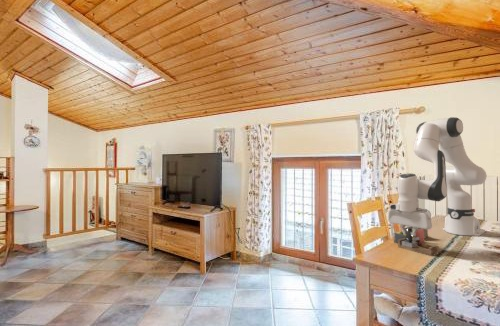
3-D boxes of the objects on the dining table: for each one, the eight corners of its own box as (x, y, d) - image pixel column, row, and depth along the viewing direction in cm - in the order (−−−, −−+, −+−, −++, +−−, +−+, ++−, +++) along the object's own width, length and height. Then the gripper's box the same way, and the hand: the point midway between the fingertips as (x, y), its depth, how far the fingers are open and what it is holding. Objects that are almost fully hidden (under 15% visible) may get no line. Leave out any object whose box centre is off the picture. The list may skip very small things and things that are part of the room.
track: (404, 245, 142) (404, 238, 142) (437, 253, 128) (437, 246, 128) (398, 247, 139) (397, 239, 139) (431, 255, 125) (431, 247, 125)
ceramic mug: (420, 240, 150) (420, 226, 150) (406, 236, 157) (405, 223, 157) (432, 237, 154) (432, 224, 154) (418, 234, 162) (417, 221, 162)
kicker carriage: (417, 241, 144) (416, 224, 144) (427, 243, 140) (426, 226, 140) (401, 245, 138) (401, 228, 138) (411, 248, 133) (411, 230, 133)
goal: (407, 239, 153) (406, 222, 153) (420, 242, 146) (420, 225, 146) (393, 242, 147) (393, 225, 147) (407, 245, 141) (406, 228, 141)
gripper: (434, 208, 129) (435, 238, 129) (393, 203, 147) (394, 230, 147) (426, 210, 126) (427, 240, 126) (385, 205, 144) (386, 231, 144)
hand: (409, 234), depth 137 cm, fingers open, 3 cm apart
